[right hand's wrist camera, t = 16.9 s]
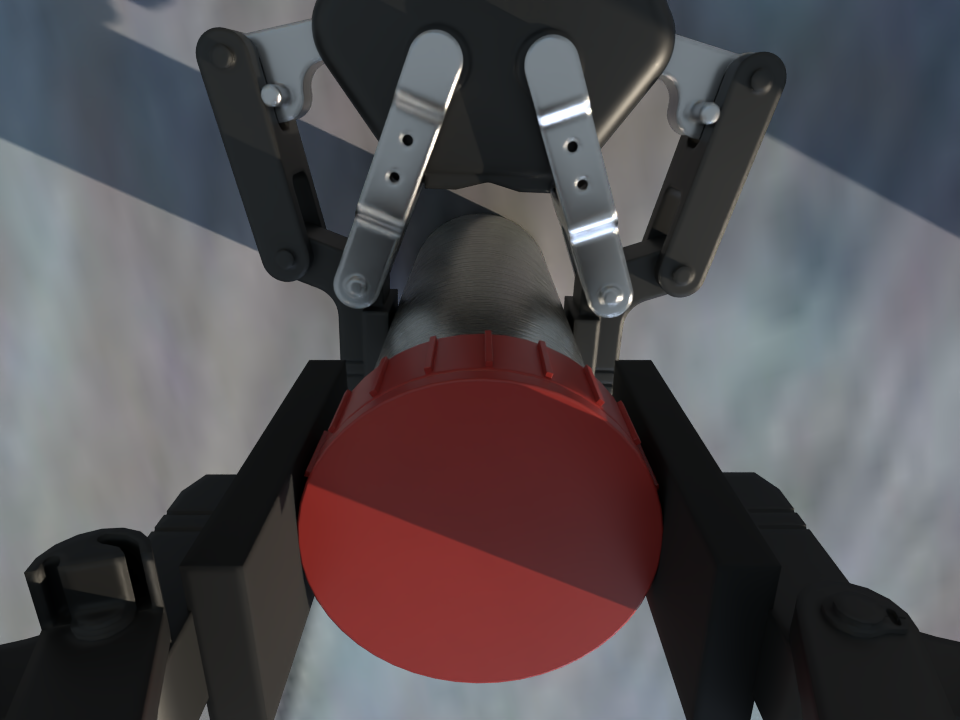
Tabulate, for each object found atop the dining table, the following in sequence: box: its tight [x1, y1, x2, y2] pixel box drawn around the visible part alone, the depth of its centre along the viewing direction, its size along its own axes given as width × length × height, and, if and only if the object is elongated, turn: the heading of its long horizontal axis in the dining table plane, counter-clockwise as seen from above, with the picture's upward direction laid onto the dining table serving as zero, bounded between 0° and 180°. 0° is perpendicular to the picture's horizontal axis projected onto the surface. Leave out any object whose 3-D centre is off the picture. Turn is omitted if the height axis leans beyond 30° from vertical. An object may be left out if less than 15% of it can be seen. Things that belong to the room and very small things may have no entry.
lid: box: [297, 330, 663, 683], centre depth 11 cm, size 6×6×2 cm
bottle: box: [374, 213, 585, 369], centre depth 18 cm, size 5×5×15 cm
